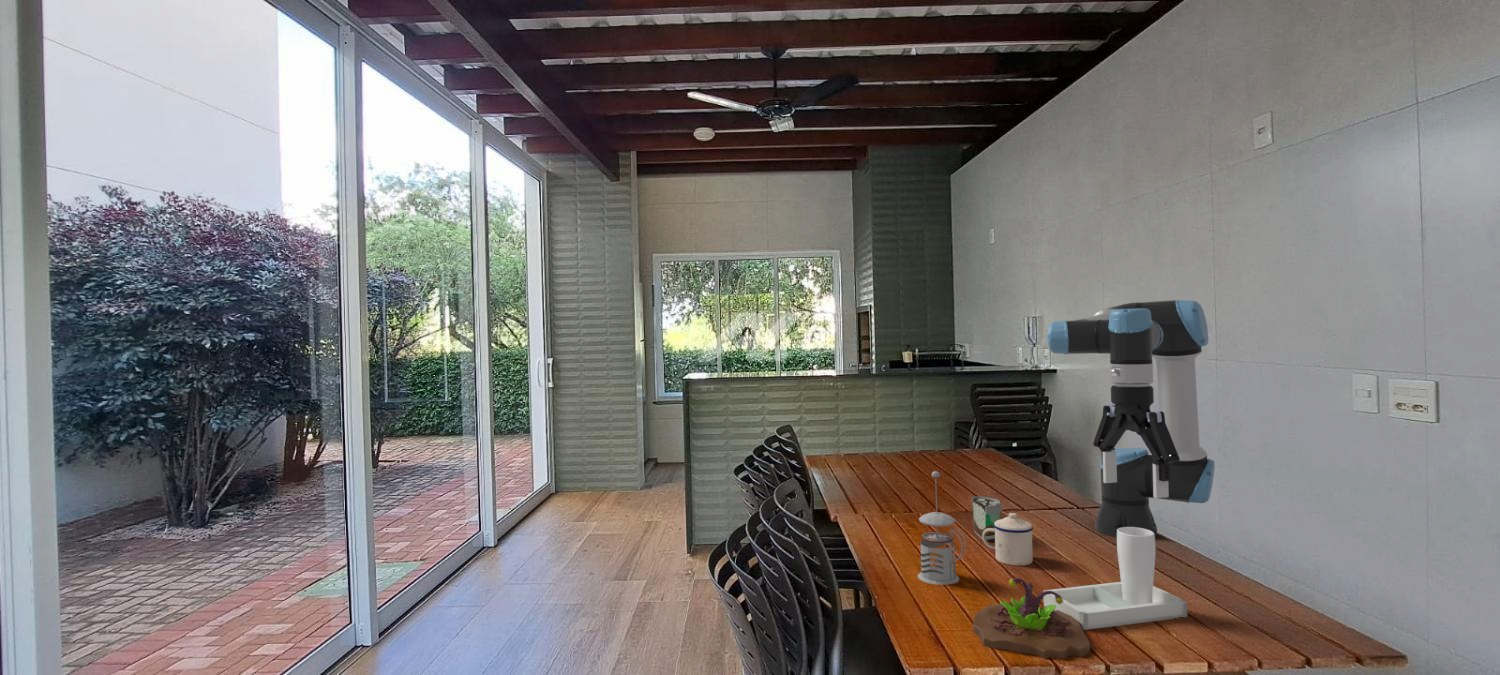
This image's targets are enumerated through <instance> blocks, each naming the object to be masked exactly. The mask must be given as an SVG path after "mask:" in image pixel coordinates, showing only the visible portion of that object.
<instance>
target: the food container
mask: <svg viewBox="0 0 1500 675" xmlns="http://www.w3.org/2000/svg"><path fill="white" fill-rule="evenodd" d="M971 504H972V513H973V514H972V515H973V516H972V518H973V532H974V533H975V534H976V535H977V536H978V537H979V538H980V539H981V540H982V541H983V538H982V533H983V531H984V530H985V529H988V528H993V529H995V527H994V523H995V521H997V520H1000V519H1001V518H1000V516H1001V512H1003V507H1002V504H1001V502H1000V500H999V499H997V498H993V497H988V496H981V495H980V496H978V495H977V496H975V495H974V496H973V495H972V496H971ZM985 536H986V540H987V541H988V543H990V542H995V532H986V534H985Z"/></svg>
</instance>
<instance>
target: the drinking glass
mask: <svg viewBox="0 0 1500 675" xmlns="http://www.w3.org/2000/svg"><path fill="white" fill-rule="evenodd" d="M1116 551H1117V553H1116V554H1117V559H1118V568H1119V575H1120V576H1119V577H1120V582H1121V587H1122V599H1123V600H1125V601H1127V602H1129V603H1131V604H1133V605H1140V604H1148V603H1153V586H1154V581H1155V580H1154V577H1155V569H1156V568H1155V567H1156V565H1155V564H1156V537H1155V534H1154V533H1153V532H1152V531H1150V530H1147V529H1143V528H1137V527H1121V528H1118V529H1117V537H1116Z"/></svg>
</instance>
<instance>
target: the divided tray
mask: <svg viewBox="0 0 1500 675" xmlns="http://www.w3.org/2000/svg"><path fill="white" fill-rule="evenodd" d="M1045 591H1052V592H1055V593H1057V594H1059V595H1060V596H1061V597H1062V598H1063V603H1062V604H1058V603H1057V602H1056V599H1055V595H1053V594H1047V595H1045V596H1044V597H1043V607H1046V606H1048V605H1056V608H1055V609H1054V610H1059V611H1061V612H1063V613H1065V614H1068V615H1070V616H1072V617H1073V618H1074V619H1075V620H1077V621H1079V622H1080V624H1081V628H1082V630H1083V631H1086V630H1087V631H1088V630H1093V629H1094V630H1095V629H1102V628H1103V629H1104V628H1112V627H1117V626H1120V627H1121V626H1126V625H1127V626H1128V625H1134V624H1136V625H1137V624H1142V623H1153V622H1157V621H1160V622H1161V621H1167V620H1174V618H1176V619H1179V618H1178V617H1184V618H1188V600H1185V599H1183V598H1181V597H1179V596H1177V595H1174V594H1172V593H1170V592H1168V591H1165V590H1163V589H1161V588H1159V587H1156V586H1155V585H1153V603H1148V604H1140V605H1133V604H1131V603H1129V602H1127V601H1125V600H1123V599H1122V587H1121V581H1115V582H1108V583H1100V584H1099V583H1098V584H1090V585H1081V586H1072V587H1063V588H1062V587H1061V588H1054V589H1046V590H1045V589H1044V590H1043V591H1042V592H1045Z"/></svg>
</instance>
